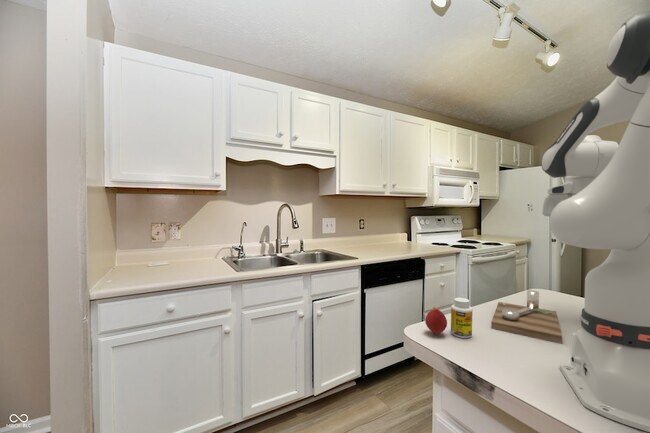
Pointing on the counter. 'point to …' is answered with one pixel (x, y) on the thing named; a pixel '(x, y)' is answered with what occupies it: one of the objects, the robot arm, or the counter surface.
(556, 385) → the counter surface
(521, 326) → the board
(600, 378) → the robot arm
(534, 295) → the silver measuring spoon
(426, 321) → the onion
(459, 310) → the supplement bottle
